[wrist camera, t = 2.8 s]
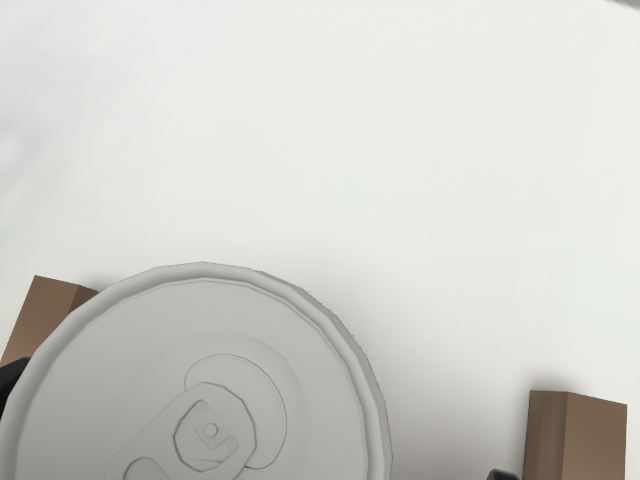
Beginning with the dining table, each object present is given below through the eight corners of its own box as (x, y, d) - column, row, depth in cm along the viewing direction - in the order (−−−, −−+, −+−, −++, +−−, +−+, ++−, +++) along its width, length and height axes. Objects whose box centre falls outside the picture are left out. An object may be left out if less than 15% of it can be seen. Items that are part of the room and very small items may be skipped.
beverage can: (396, 411, 16) (493, 469, 5) (295, 516, 16) (140, 866, 4) (302, 311, 18) (210, 178, 6) (204, 405, 17) (-103, 446, 6)
